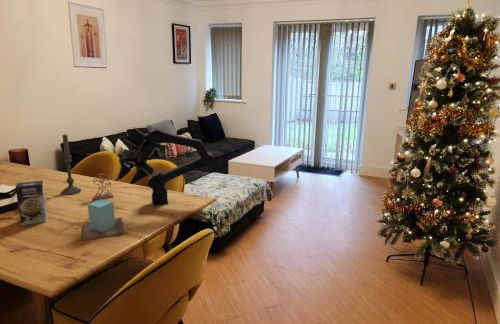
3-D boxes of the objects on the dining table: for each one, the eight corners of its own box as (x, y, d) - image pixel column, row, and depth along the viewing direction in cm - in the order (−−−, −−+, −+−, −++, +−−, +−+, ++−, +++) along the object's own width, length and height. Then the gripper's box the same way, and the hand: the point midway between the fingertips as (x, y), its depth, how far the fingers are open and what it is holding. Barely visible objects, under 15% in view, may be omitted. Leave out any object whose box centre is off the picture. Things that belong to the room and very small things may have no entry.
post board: (121, 220, 145) (120, 209, 144) (123, 234, 133) (122, 222, 131) (84, 224, 140) (83, 213, 139) (82, 240, 128) (80, 228, 126)
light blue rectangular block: (103, 222, 140) (101, 199, 138) (115, 225, 137) (113, 201, 135) (90, 228, 135) (87, 204, 132) (101, 232, 132) (99, 207, 129)
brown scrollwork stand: (112, 194, 174) (110, 171, 171) (113, 197, 171) (111, 173, 168) (93, 197, 170) (90, 174, 167) (93, 200, 167) (91, 176, 164)
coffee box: (20, 226, 138) (14, 187, 134) (22, 220, 144) (16, 182, 140) (47, 221, 142) (41, 184, 138) (47, 216, 148) (42, 179, 144)
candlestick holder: (68, 196, 171) (60, 135, 164) (57, 192, 176) (50, 133, 169) (85, 191, 179) (79, 133, 171) (74, 187, 184) (68, 131, 176)
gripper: (120, 139, 157) (99, 167, 151) (146, 144, 145) (124, 176, 140) (137, 153, 165) (117, 181, 159) (162, 159, 153) (142, 189, 148)
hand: (124, 181), depth 151 cm, fingers open, 9 cm apart
